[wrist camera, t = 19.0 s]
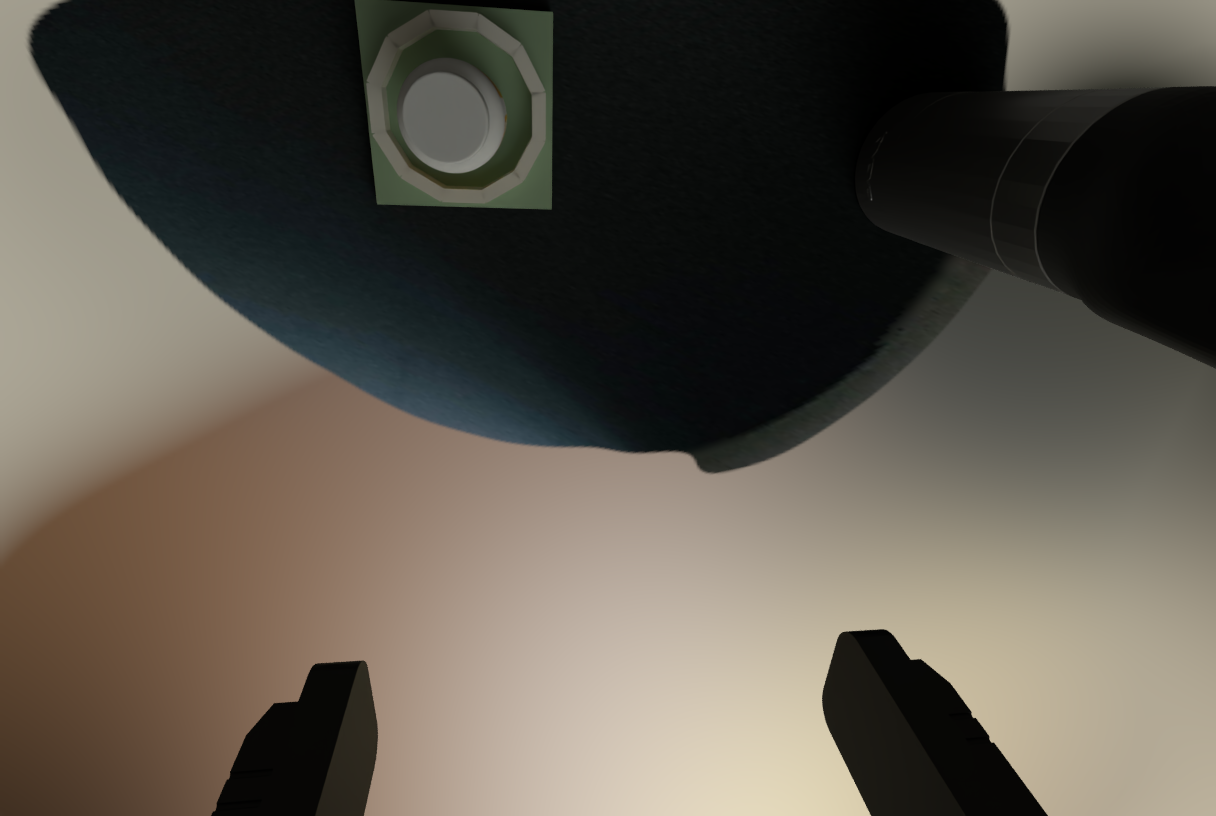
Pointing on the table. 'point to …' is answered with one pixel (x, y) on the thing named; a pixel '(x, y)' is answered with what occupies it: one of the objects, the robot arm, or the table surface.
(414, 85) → the supplement bottle
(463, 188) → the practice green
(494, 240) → the table surface
